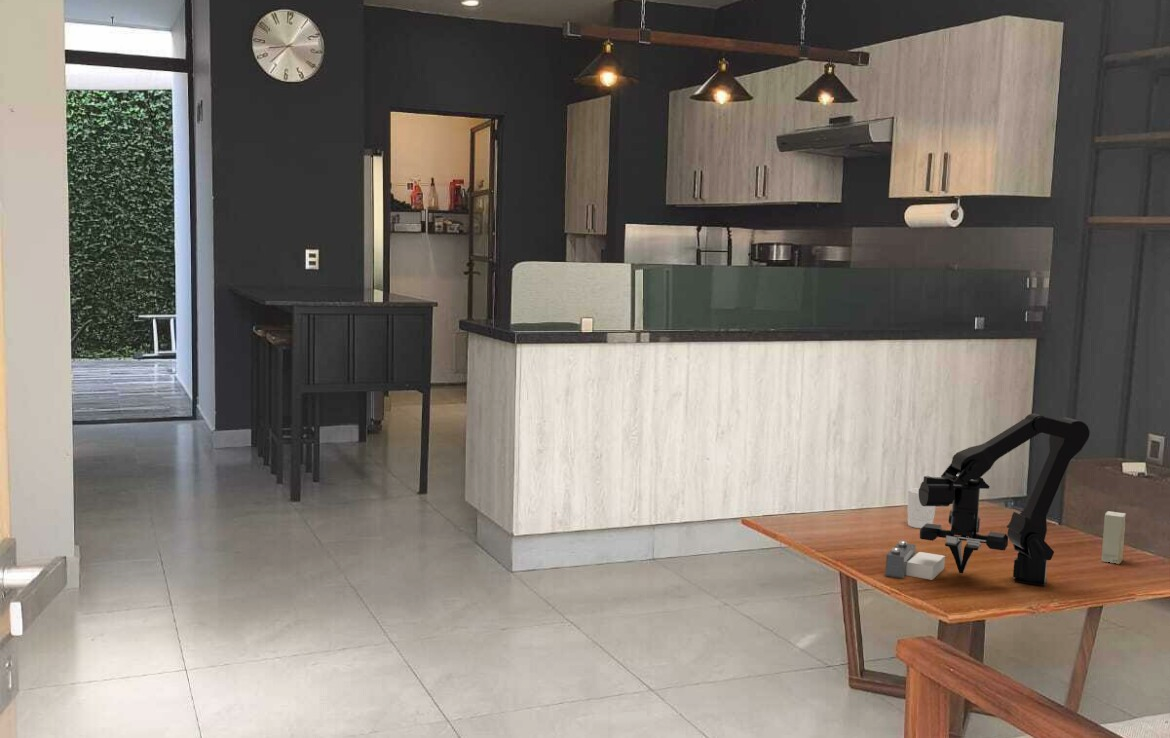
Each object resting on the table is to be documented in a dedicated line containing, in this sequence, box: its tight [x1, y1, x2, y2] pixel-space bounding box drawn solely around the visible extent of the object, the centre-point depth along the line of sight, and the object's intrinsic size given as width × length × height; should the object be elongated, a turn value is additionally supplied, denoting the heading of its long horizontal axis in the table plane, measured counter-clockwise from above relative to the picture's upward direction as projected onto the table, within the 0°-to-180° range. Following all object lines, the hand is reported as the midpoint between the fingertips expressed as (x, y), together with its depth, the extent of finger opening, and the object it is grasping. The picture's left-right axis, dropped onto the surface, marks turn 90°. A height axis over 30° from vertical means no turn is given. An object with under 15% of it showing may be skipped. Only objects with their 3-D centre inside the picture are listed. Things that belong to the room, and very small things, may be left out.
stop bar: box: [884, 540, 917, 579], centre depth 259 cm, size 4×14×6 cm, turn 152°
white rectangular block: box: [905, 551, 946, 581], centre depth 258 cm, size 6×12×4 cm, turn 149°
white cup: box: [906, 487, 937, 529], centre depth 307 cm, size 8×8×10 cm
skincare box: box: [1100, 510, 1127, 565], centre depth 276 cm, size 6×4×12 cm
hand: (961, 573), depth 253 cm, fingers closed
